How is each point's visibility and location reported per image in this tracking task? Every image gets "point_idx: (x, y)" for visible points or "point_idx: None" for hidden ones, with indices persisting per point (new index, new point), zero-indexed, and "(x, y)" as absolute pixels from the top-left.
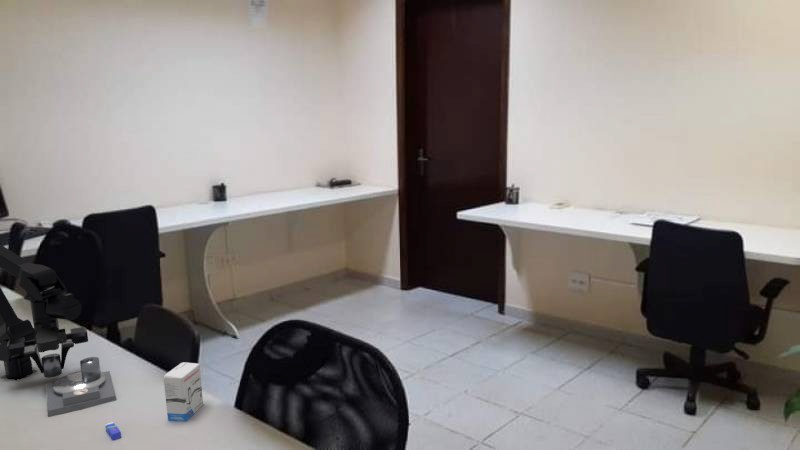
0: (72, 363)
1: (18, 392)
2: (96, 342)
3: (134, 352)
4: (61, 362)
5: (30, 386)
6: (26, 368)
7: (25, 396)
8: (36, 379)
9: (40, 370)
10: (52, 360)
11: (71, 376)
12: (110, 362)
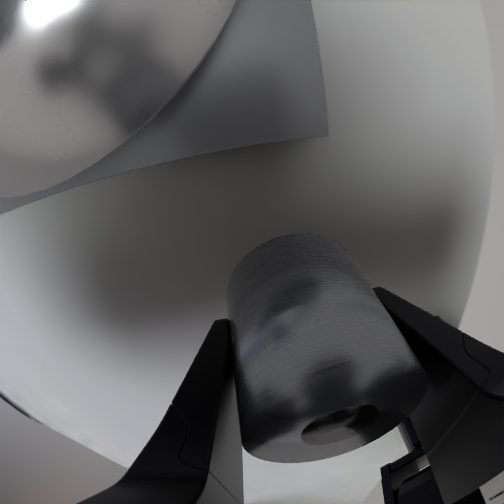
0: None
1: (457, 169)
2: None
3: (15, 407)
4: (223, 363)
5: (407, 227)
6: None
7: (430, 83)
8: None
9: (397, 297)
10: (325, 363)
11: (82, 94)
12: (45, 375)
